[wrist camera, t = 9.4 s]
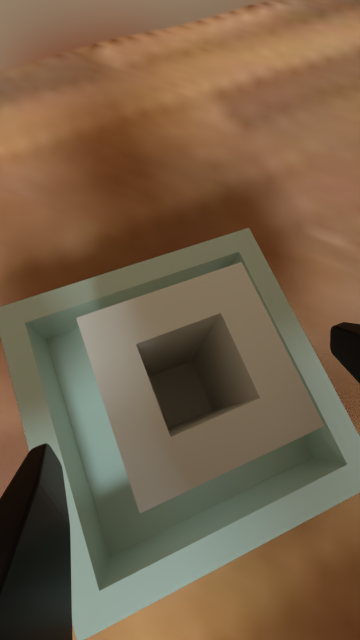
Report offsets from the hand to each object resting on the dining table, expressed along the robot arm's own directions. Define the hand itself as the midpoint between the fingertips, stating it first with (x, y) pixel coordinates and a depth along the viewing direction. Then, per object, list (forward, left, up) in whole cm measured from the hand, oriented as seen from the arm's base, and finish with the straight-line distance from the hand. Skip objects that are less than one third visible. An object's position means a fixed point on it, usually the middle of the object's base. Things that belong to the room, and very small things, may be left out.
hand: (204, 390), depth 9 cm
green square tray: (+1, 0, -10) cm, 10 cm away
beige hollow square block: (+1, 0, -9) cm, 9 cm away
